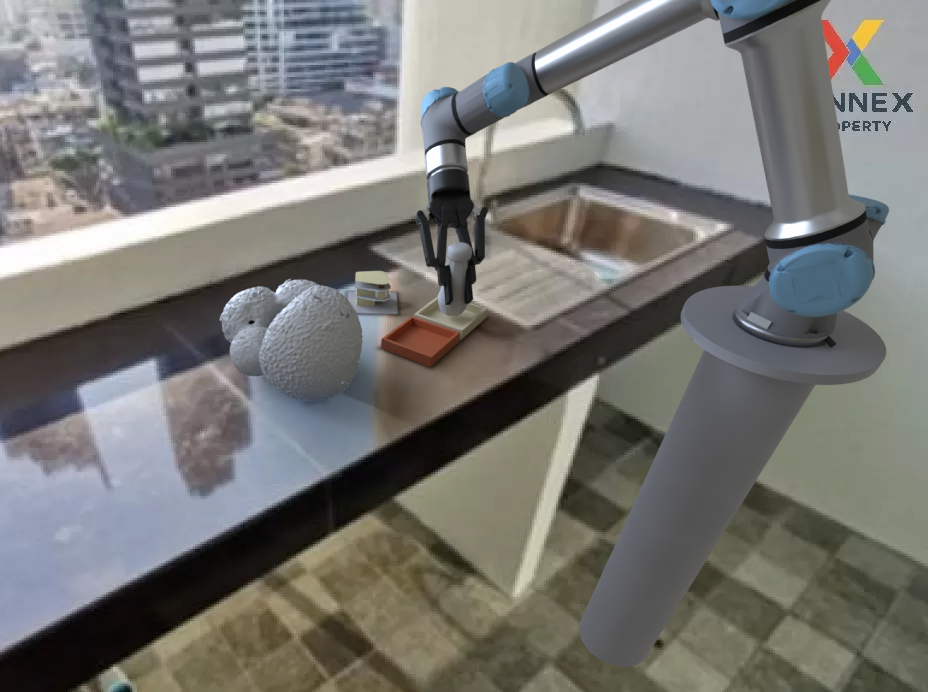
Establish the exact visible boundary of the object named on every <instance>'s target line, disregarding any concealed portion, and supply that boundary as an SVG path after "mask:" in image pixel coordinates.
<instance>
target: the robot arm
mask: <svg viewBox="0 0 928 692" xmlns="http://www.w3.org/2000/svg"><path fill="white" fill-rule="evenodd" d="M831 1H832V0H628V1H625V2H624V3H622V4H620V5H619V6H617V7H615V8H613V9H611V10H609V11H608V12H606V13H604V14H602V15H600V16H598V17H597V18H595V19H592V20H591V21H589V22H587V23H586V24H584V25H582V26H580V27H578V28H577V29H575V30H572V31H571V32H569V33H567V34H566V35H564V36H562V37H561V38H558V39H557V40H555V41H553V42H551V43H549V44H547V45H546V46H544V47H542V48H540V49H539V50H537V51H535V52H533V53H531V54H529V55H528V56H525V57H523V58H522V59H520V60H518V61H517V62H513V61H507V62H506V63H503V64H502V65H500V66H497V67H495V68H493V69H491V70H490V71H489V72H488V73H487V74H485V75H484V76H482V77H480V78H478V79H477V80H476V81H474V82H473V83H471V84H469V85H468V86H467V87H465V88H463V89H462V90H460V91H458V89H457V88H454V87H450V86H442V87H440V88H439V89H432V90H431V91H429V92H428V93H426V95H425V96H423V99H422V100H421V104H420V128H421V132H422V140H423V149H424V150H423V151H424V162H425V163H424V164H425V175H426V180H427V181H426V187H427V198H428V205H427V207H426V208H425V209H422V210H421V209H419V210H417V212H416V214H415V216H414V218H413V220H414V222H415V223H416V226H417V227H418V229H419V234H420V240H421V244H422V245H421V246H422V250H423V256H424V261H425V262H424V263H425V265H426V267H428V268H430V267H431V268H434V270H435V271H436V275H437V285H438V287H441V286H444V295H445V305H450V304H451V303H452V301H453V292H452V281H451V270H450V265H448V264H446V262H447V261H446V260H447V248H448V247H447V245H448V230H449V229H450V228H452V229H454V230H455V233H456V235H457V239H458V242H462V243H466V244H468V245H470V246H471V248H472V255H471V258H470V259H469V260H467V265H468V268H467V270H466V285H465V298H464V299H465V304H469V303H472V301H474V292H473V291H474V290H473V285H475V283H476V282H477V270H476V269H477V268H476V266H477V265H481V264H482V262H483V261H484V259H486V218H487V215H488V212H489V209H488V208H487V206H484V207H482V208H480V207H478V206H475V202H474V201H473V200H472V197H471V187H470V176H469V174H468V172H469V167H468V156H467V147H466V139H467V138H470V137H471V136H474V135H475V134H477V133H478V132H480V131H482V130H484V129H487V128H488V127H491V126H492V125H493V124H496V123H497V122H499V121H501V120H503V119H505V118H508V117H510V116H511V115H513V114H515V113H517V112H518V111H519V110H522V109H523V108H525V107H528V106H530V105H532V104H533V103H535V102H537V101H539V100H542V99H544V98H545V97H547V96H549V95H552V94H553V93H555V92H557V91H559V90H562V89H563V88H566V87H568V86H570V85H573V84H574V83H576V82H578V81H580V80H582V79H584V78H587V77H588V76H591V75H592V74H595V73H596V72H599V71H601V70H603V69H605V68H607V67H609V66H611V65H614V64H616V63H617V62H619V61H622V60H624V59H626V58H628V57H630V56H631V55H634V54H636V53H638V52H640V51H642V50H645V49H646V48H648V47H650V46H653V45H655V44H657V43H659V42H661V41H663V40H665V39H667V38H669V37H672V36H674V35H675V34H678V33H680V32H682V31H684V30H686V29H688V28H689V27H692V26H694V25H696V24H698V23H701V22H702V21H705V20H707V19H710V20H713V21H716V22H718V21H719V25H720V29H721V34H722V39H723V43H724V47H725V48H726V47H727V48H729V49H732V50H734V51H737V52H738V53H739V54H740V55H741V56H740V57H741V62H742V67H743V70H744V76H745V81H746V87H747V91H748V92H747V93H748V97H749V101H750V106H751V111H752V116H753V121H754V127H755V131H756V136H757V137H756V138H757V141H758V148H759V152H760V155H761V162H762V167H763V172H764V177H765V181H766V187H767V191H768V197H769V201H770V206H771V211H772V217H773V220H772V222H771V223H770V225H769V226H768V227H767V228H766V230H765V231H764V235H763V236H764V241H765V247H766V251H767V257H768V262H769V263H768V265H767V267H766V270H765V271H764V274H763V275H762V277H761V278H760V280H759V281H757V283H756V284H755V285H753V286H754V287H753V288H752V289H751V290H750V291H749V292H748V293H747V294H746V295H745V296H744V297H743V298H742V299H741V301H740V302H739V303H738V304H737V306H736V308H735V310H734V312H733V314H732V318H733V321H734V322H735V324H736V325H737V326H738V327H739V328H741V329H742V330H743V331H745V332H746V333H748V334H750V335H752V336H754V337H756V338H759V339H761V340H764V341H767V342H770V343H774V344H778V345H782V346H788V347H798V348H809V347H817V346H821V345H823V344H825V343H827V344H828V345H829V347H830V348H831V347H833V346H835V345H836V343H835V342H834V341H833V339H832V338H831V335H832V334H833V332H834V330H835V325H836V318H837V313H838V312H841V311H845V310H847V309H849V308H851V307H853V306H854V305H855V304H857V302H859V301H860V300H862V299H863V297H864V296H865V295H866V294H867V292H868V291H869V289H870V287H871V284H872V283H873V280H874V279H875V275H876V268H875V262H874V241H875V238H876V236H877V235H878V233H879V231H880V229H881V228H882V226H884V225H885V224H886V222H887V221H886V219H887V217H888V215H889V213H890V207H889V206H888V205H887V203H884V202H883V201H882V202H881V201H879V200H876V199H873V198H868V197H864V196H859V195H854V194H849V187H848V182H847V174H846V167H845V161H844V156H843V149H842V142H841V137H840V135H841V134H840V129H839V122H838V116H837V110H836V103H835V97H834V90H833V84H832V78H831V72H830V65H829V58H828V51H827V45H826V38H825V33H824V26H823V19H822V16H823V14H824V11H825V10H826V9H827V7H828V6H829V4H830V2H831ZM471 214H472V219H473V222H474V225H473V226H474V227H473V229H474V232H473V233H474V235H473V236H474V237H473V238H474V242H473V243H474V245H473V244H472V240H471V237H470V236H471V235H470V232H469V228H468V226H469V225H468V218H469V216H470V215H471ZM430 218H431V219H432V220H433V221H434V223H435V224H436V225H437V229H436V230H437V233H436V234H437V241H436V254H435V250H434V243H433V237H432V233H431V229H430V228H431V227H430V222H429V221H430V220H429V219H430ZM473 247H474V248H473Z"/></svg>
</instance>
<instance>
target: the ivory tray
mask: <svg viewBox="0 0 928 692" xmlns="http://www.w3.org/2000/svg"><path fill="white" fill-rule="evenodd" d="M488 311H489V309H488V307H485V306H481V305H478V304H476V303H472V302H470V303H469V304H468V306H467V307H466V309H465V310H464V312H463V313H462V314H460V315H458V316H446V315H445V314H443V313H442V312H441V311H440V308H439V304H438V295H437V296H436V297H434V298H433V299H432V300H430V301H429V302H427V304H425V305H424V306H423V307H421V308H420V309H419V310H417V311H416V312H415V313H414V314H413V316H414V317H417V318H419V319H422V320H425V321H428V322H431V323H434V324H437V325H440V326H443V327H446V328H449V329H452V330H454V331H457V332H460V337H459V341H461V340H463V339H464V338H465V337H466V336H468V334H470V333H471V332H472V331H473V330H474V329H475V328H476V327H477V326H479V325H480V324H481V323H482V322H483V321H484V320H486V319H487V316H488Z"/></svg>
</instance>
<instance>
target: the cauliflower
mask: <svg viewBox="0 0 928 692" xmlns="http://www.w3.org/2000/svg"><path fill="white" fill-rule="evenodd" d="M277 287H278V288H276V291H273V290H271V289H270V288H269V287H265V286H255V287H251V288H247V289H244V290H242V291H239V292H237V293H236V294H234V295H233V297H231V298H230V300H229V301H227V303H226V304H225V306H224V307H223V311H222V313H221V314H220V317H219V322H221V326H222V327H221V328H222V329H221V332H222V333H223V336H224V338H225V340H226V341H228V342H229V343H230V346H229V358H230V360H231V363H233V366H234V367H235V368H236V370H237V371H238V372H239V373H240V374H243V375H245V376H248V377H261V376H264V378H265V380H266V382H268V384H269V385H271V386H272V388H274V389H275V391H278V392H279V393H280V394H283V395H284V396H286V397H288V398H291V399H294V400H299V401H305V402H306V401H307V402H309V401H321V400H322V401H323V400H329V399H332V398H334V397H336V396H338V395H340V394H341V393H343V392H345V390H346V389H348V388H349V386H350V385H351V383H352V382H353V380H354V378H355V376H356V373H357V370H358V366H359V361H360V359H361V354H362V349H363V348H362V347H363V329H362V325H361V321H360V318H359V315H358V313H356V310H355V309H354V308H353V306H352V305H351V303H350V302H349V300H348V297H346V296H345V295H344V294H343V293H342V292H340V291H339V290H336V288H333V287H330V286H325V285H320V284H318V283H316V282H315V281H312V280H308V279H293V280H292V278H289V279H286V280H285V281H284V283H282V284H280V285H278V286H277Z"/></svg>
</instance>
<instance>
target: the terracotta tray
mask: <svg viewBox="0 0 928 692" xmlns="http://www.w3.org/2000/svg"><path fill="white" fill-rule="evenodd" d="M459 337H460V332H457V331H454V330H452V329H449V328H446V327H443V326H440V325H437V324H434V323H431V322H428V321H425V320H422V319H419V318H417V317H414V315H410V317H408V318H407V319H406V320H404V321H402V323H400V324H399V325H398V326H396V327H394V328H393V329H392V330H390V332H388V333H387V334H386V335H385V336H383V337H382V338H381V340H380V341H381V342H380V349H381V350H385V351H386V352H387V351H388V352H389V353H393V354H395V355H398V356H400V357H403V358H406V359H408V360H410V361H413V362H416V363H418V364H422V365H424V366H426V367H429V368H431V367H432V366H434V364H436V363H437V362H438V361H439V360H440V359H442V357H444V356H445V355H446V354H447V353H448V352H449V351H451V350H452V349H453V347H455V346H456V345H458V343H459V342H460V339H459Z"/></svg>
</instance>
